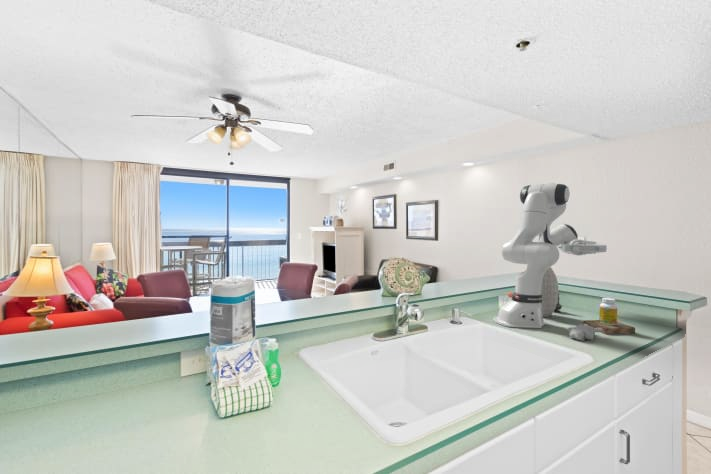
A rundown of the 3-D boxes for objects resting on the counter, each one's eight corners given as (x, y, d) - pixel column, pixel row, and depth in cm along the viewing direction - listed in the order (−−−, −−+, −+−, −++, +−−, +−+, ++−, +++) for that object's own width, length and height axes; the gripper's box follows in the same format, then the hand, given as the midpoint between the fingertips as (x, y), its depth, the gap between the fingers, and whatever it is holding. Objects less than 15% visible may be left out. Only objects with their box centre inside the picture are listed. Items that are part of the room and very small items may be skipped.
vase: (532, 317, 165) (533, 262, 164) (527, 311, 177) (528, 260, 176) (561, 319, 161) (562, 263, 160) (553, 313, 173) (555, 260, 172)
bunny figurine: (562, 327, 136) (581, 318, 143) (562, 339, 136) (582, 330, 143) (587, 334, 128) (606, 324, 135) (587, 346, 128) (606, 336, 135)
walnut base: (605, 334, 140) (605, 328, 140) (583, 325, 152) (583, 320, 152) (635, 333, 141) (635, 327, 141) (611, 325, 153) (611, 319, 153)
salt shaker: (558, 310, 180) (559, 288, 179) (564, 313, 174) (564, 291, 173) (547, 310, 180) (547, 288, 180) (552, 312, 174) (553, 290, 174)
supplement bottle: (600, 324, 145) (601, 299, 145) (598, 320, 151) (598, 296, 151) (618, 326, 142) (619, 300, 142) (615, 322, 148) (615, 298, 148)
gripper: (556, 241, 182) (567, 242, 168) (598, 241, 177) (612, 243, 164) (556, 252, 182) (567, 254, 168) (598, 253, 178) (612, 255, 164)
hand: (590, 248), depth 166 cm, fingers open, 8 cm apart
